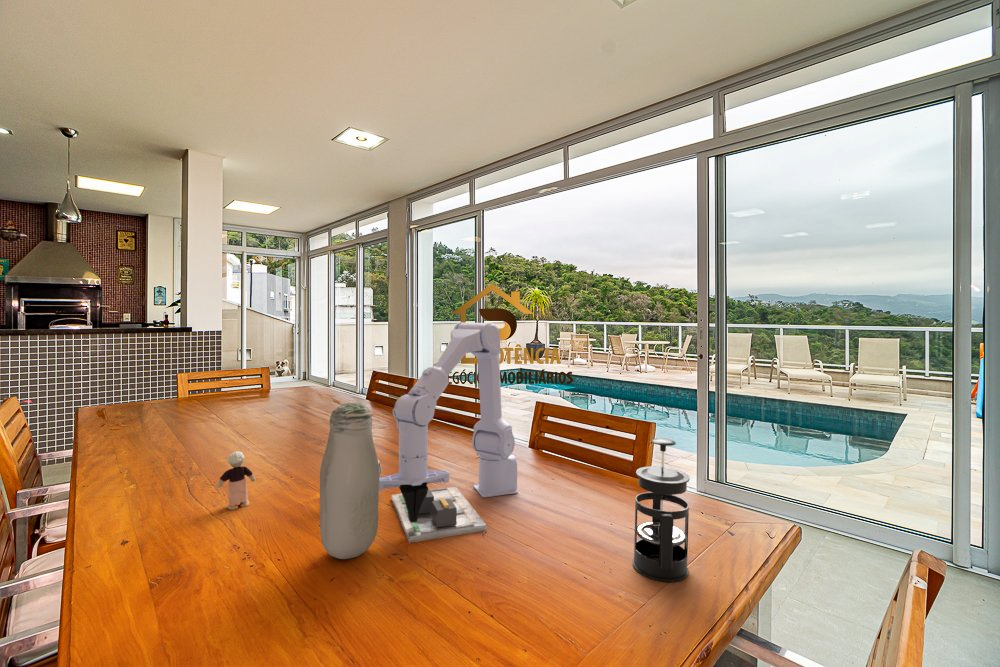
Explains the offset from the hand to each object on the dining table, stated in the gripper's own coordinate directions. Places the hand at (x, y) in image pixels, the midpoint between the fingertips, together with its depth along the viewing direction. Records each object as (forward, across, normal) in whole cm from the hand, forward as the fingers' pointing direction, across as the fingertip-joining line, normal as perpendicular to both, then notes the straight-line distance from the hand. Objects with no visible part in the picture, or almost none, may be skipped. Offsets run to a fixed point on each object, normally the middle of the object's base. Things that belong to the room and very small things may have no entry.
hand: (412, 520), depth 95 cm
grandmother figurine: (+3, -36, +26) cm, 44 cm away
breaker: (+1, +3, +7) cm, 8 cm away
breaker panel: (+3, +6, +8) cm, 10 cm away
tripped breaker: (+1, +6, 0) cm, 7 cm away
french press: (+3, +38, -28) cm, 48 cm away
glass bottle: (+3, -12, -4) cm, 14 cm away
